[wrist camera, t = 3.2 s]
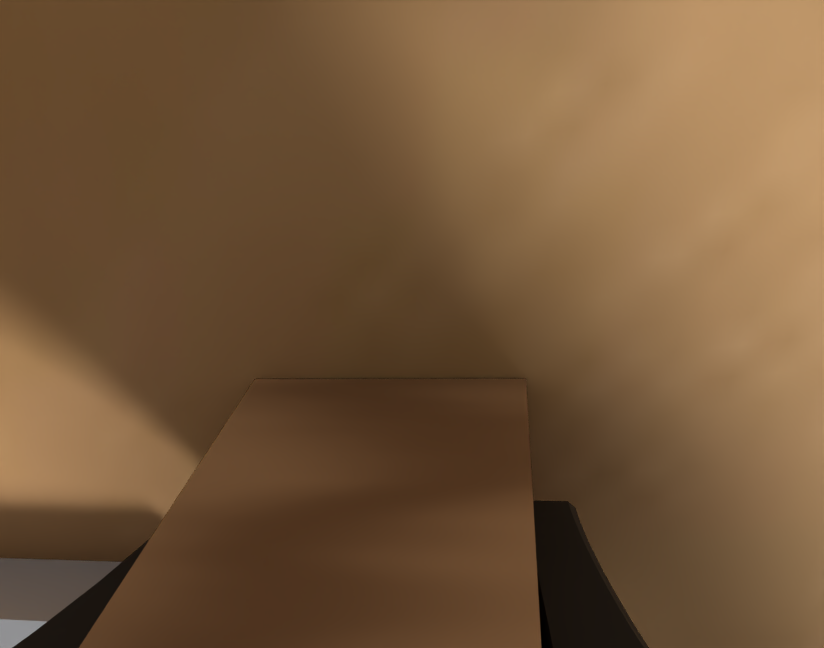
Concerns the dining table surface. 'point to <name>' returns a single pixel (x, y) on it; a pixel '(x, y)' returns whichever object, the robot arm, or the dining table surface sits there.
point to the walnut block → (346, 525)
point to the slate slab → (41, 592)
